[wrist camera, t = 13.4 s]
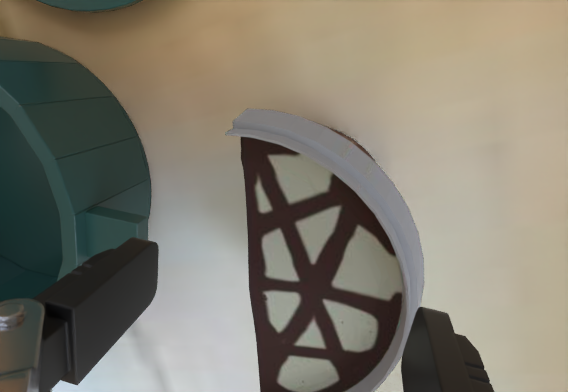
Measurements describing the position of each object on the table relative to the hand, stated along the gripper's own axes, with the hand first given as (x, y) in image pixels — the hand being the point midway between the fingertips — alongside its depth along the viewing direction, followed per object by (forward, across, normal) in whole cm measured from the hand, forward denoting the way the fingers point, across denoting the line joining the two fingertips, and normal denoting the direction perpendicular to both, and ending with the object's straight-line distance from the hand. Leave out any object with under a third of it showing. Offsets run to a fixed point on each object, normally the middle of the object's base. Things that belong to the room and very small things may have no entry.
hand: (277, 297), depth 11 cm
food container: (+11, -2, +1) cm, 11 cm away
